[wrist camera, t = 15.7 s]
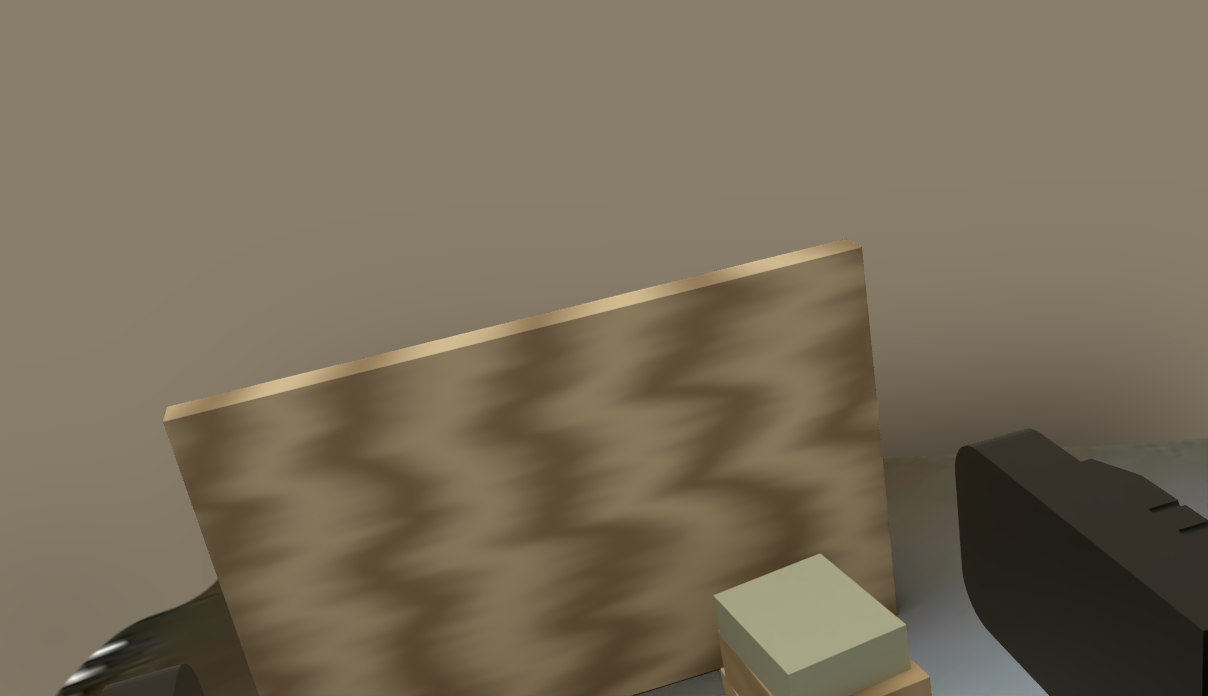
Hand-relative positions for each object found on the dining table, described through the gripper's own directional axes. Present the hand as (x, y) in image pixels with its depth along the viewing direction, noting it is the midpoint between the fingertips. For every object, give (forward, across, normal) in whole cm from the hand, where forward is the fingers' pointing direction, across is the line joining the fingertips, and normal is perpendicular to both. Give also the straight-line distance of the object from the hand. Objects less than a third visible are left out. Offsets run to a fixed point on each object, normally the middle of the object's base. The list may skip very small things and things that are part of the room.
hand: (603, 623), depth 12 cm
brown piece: (+36, -3, +27) cm, 45 cm away
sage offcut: (+26, -10, +22) cm, 35 cm away
